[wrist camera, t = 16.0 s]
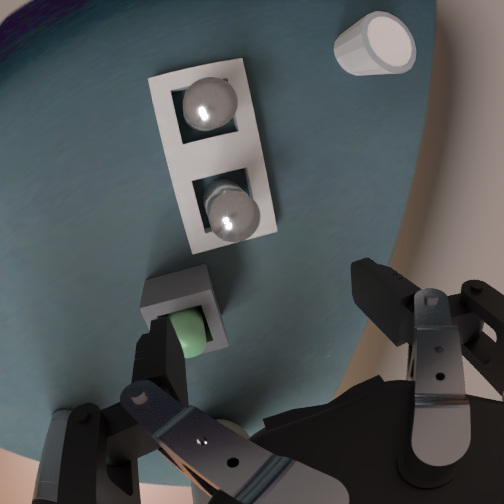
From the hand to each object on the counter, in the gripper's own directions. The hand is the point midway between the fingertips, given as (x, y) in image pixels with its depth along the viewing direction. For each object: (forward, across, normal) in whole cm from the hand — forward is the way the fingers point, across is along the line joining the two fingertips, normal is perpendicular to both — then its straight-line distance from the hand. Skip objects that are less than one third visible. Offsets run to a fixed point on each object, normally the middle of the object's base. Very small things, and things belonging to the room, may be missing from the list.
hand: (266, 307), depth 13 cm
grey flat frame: (+20, -1, -5) cm, 21 cm away
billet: (+20, -1, 0) cm, 20 cm away
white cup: (+20, -19, -14) cm, 31 cm away
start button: (+18, +6, +10) cm, 21 cm away
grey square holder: (+20, +6, +10) cm, 23 cm away
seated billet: (+20, -1, -10) cm, 22 cm away
